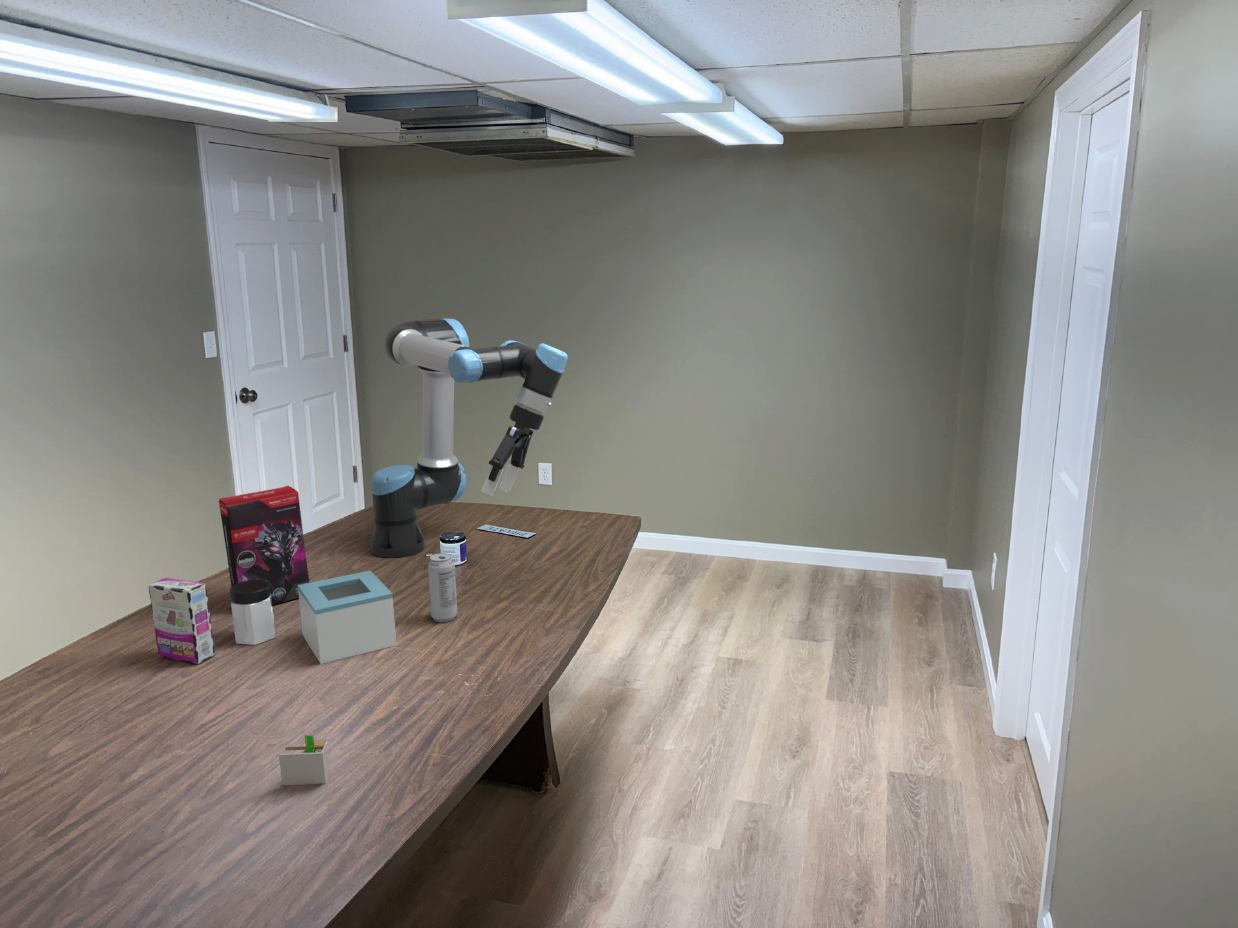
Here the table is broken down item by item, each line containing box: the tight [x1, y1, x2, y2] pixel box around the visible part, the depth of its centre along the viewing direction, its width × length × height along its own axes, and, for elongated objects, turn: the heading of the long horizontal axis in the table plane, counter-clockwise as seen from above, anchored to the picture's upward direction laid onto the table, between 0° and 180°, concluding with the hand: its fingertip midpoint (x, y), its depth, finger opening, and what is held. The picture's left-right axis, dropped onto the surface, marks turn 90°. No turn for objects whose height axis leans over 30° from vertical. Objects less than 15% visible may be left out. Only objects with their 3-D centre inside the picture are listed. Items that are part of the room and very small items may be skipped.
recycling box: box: [298, 570, 397, 665], centre depth 190 cm, size 16×16×12 cm
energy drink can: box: [427, 552, 458, 623], centre depth 200 cm, size 6×6×15 cm
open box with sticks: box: [278, 734, 330, 786], centre depth 141 cm, size 4×7×8 cm, turn 94°
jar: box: [229, 580, 276, 646], centre depth 192 cm, size 9×8×12 cm
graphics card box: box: [218, 485, 310, 606], centre depth 209 cm, size 17×7×27 cm, turn 131°
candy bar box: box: [147, 577, 216, 665], centre depth 182 cm, size 11×5×16 cm, turn 70°
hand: (495, 492), depth 206 cm, fingers open, 13 cm apart
